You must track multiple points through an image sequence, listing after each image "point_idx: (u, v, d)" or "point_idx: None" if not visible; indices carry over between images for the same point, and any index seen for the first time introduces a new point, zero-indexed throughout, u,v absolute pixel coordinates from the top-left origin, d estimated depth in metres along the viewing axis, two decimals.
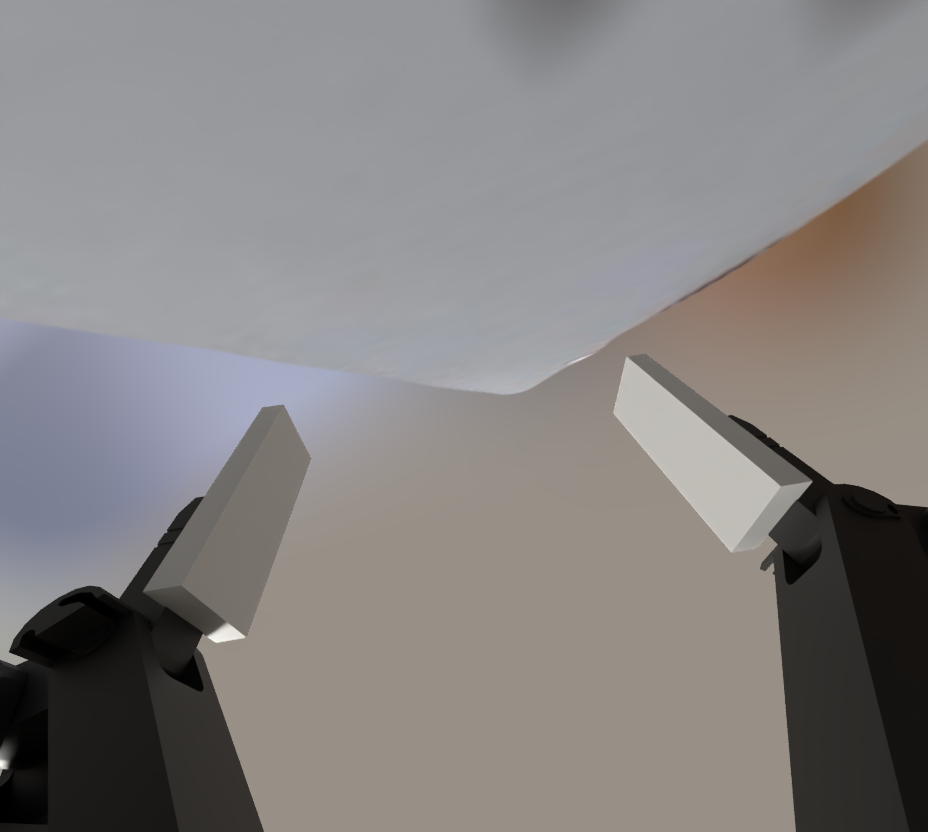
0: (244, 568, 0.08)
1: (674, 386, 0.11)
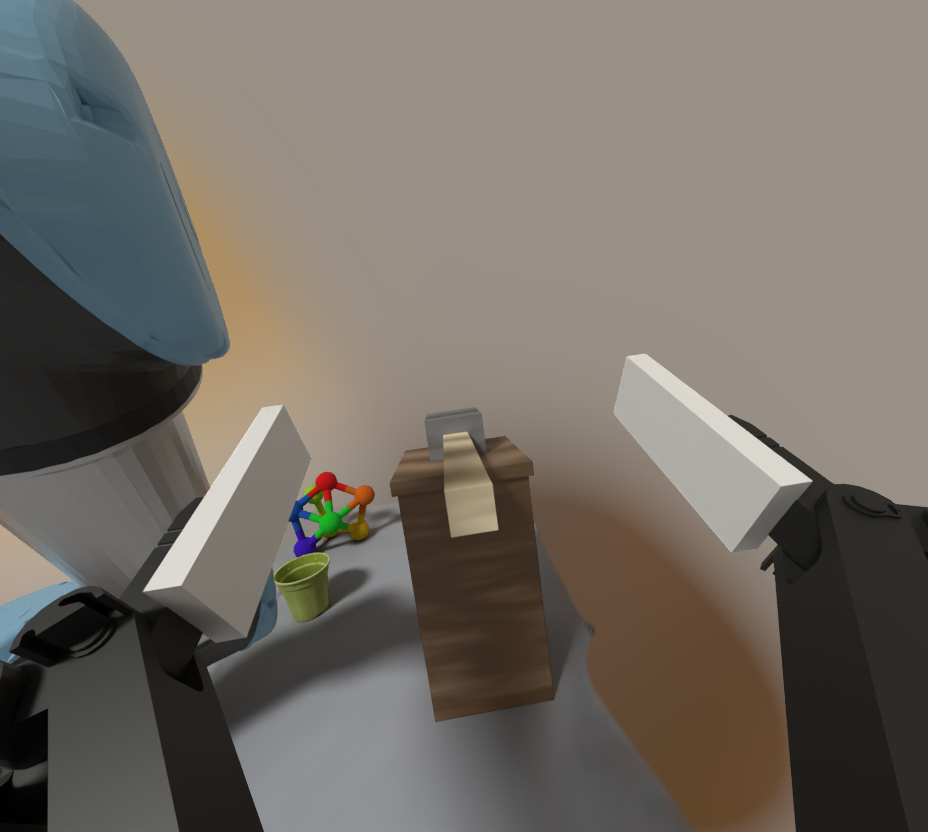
0: (244, 568, 0.08)
1: (674, 386, 0.11)
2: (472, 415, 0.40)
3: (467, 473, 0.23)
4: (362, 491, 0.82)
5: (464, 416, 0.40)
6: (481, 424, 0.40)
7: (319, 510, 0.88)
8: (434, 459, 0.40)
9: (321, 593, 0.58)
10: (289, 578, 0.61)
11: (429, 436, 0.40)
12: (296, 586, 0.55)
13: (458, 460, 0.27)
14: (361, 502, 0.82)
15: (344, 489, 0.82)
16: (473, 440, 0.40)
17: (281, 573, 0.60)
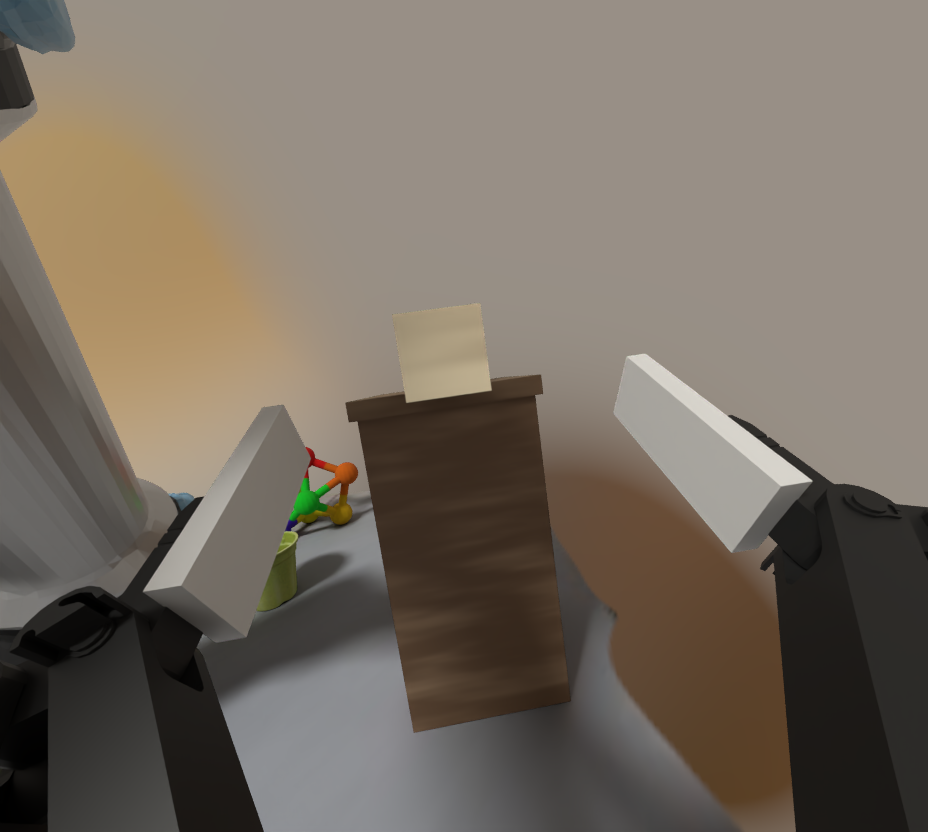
0: (244, 568, 0.08)
1: (674, 386, 0.11)
2: None
3: None
4: (343, 468, 0.73)
5: None
6: None
7: None
8: None
9: (286, 577, 0.49)
10: None
11: None
12: None
13: None
14: (342, 480, 0.73)
15: (323, 466, 0.73)
16: None
17: None
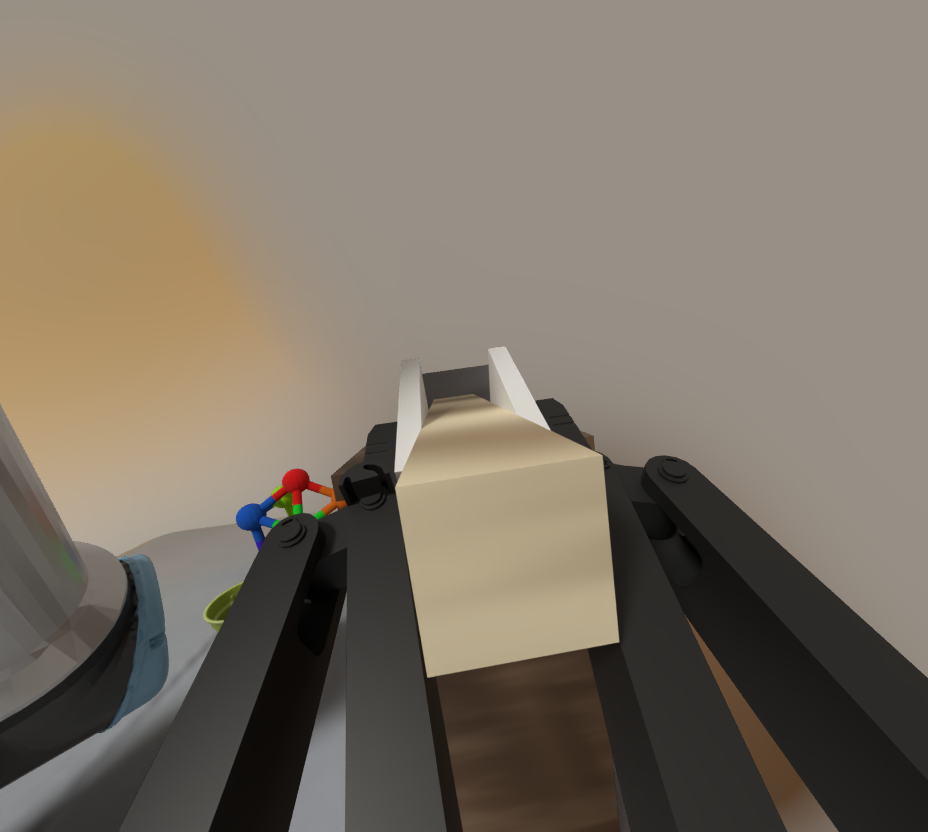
0: None
1: (508, 373, 0.12)
2: (481, 367, 0.24)
3: (484, 433, 0.08)
4: None
5: (468, 369, 0.24)
6: None
7: (290, 515, 0.73)
8: None
9: None
10: None
11: None
12: None
13: (458, 417, 0.11)
14: (339, 506, 0.67)
15: (318, 490, 0.67)
16: None
17: (220, 604, 0.44)
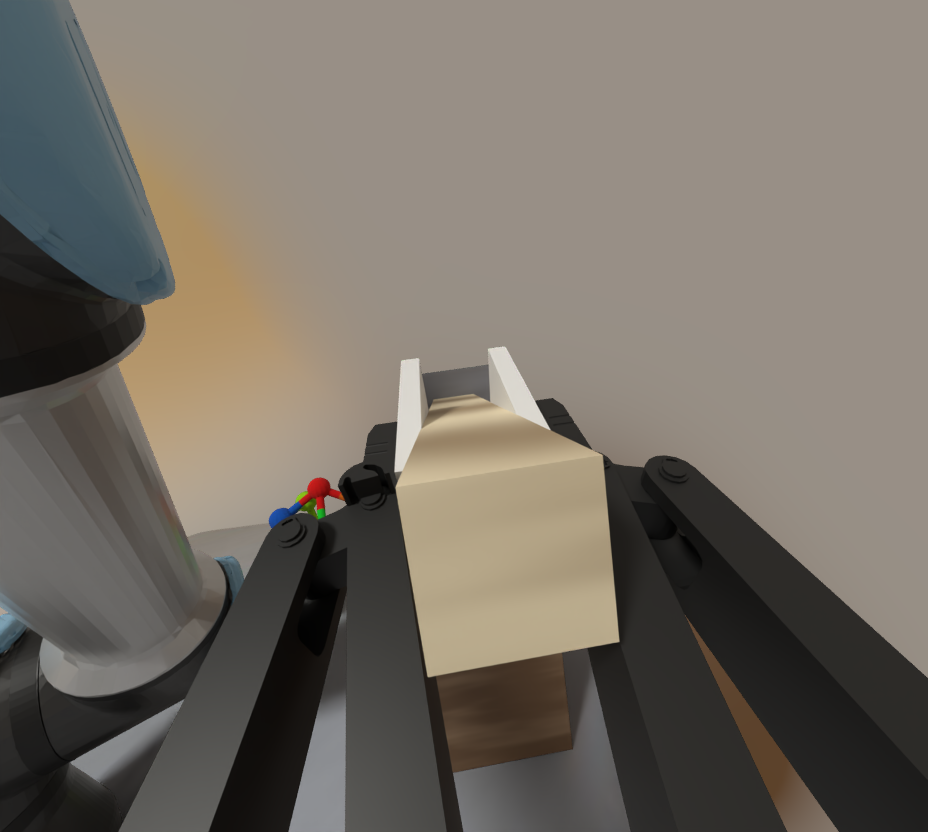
0: None
1: (508, 373, 0.12)
2: (481, 367, 0.24)
3: (484, 433, 0.08)
4: None
5: (468, 368, 0.24)
6: None
7: None
8: None
9: None
10: None
11: None
12: None
13: (458, 417, 0.11)
14: None
15: (338, 496, 0.77)
16: None
17: None
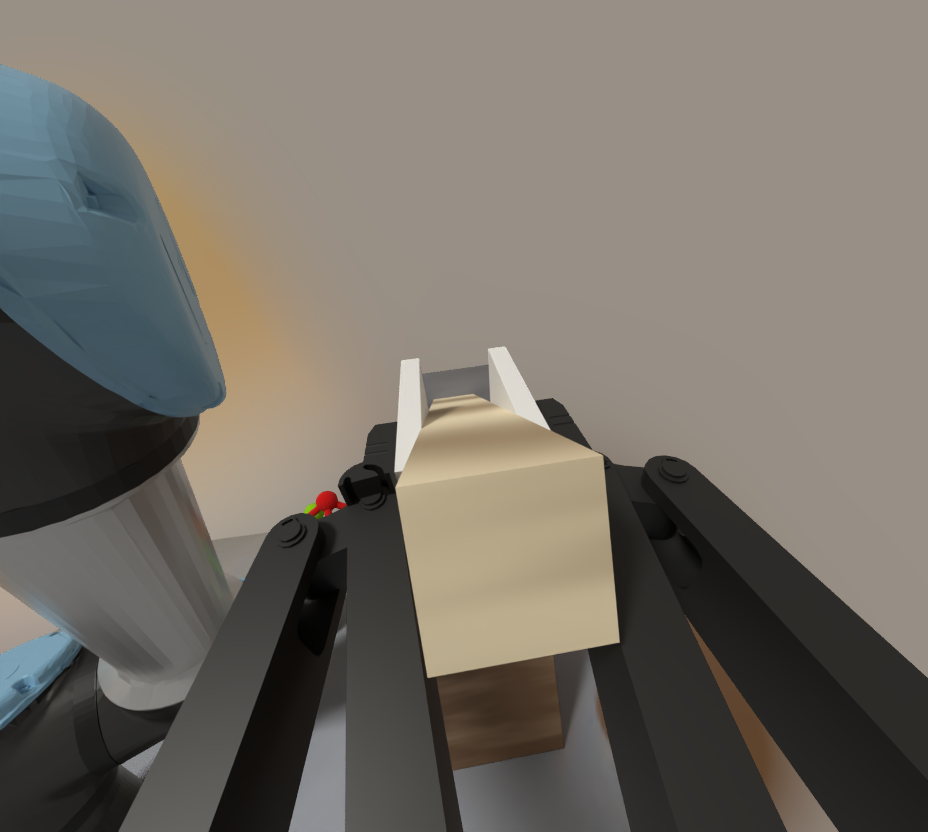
0: None
1: (508, 373, 0.12)
2: (481, 367, 0.24)
3: (484, 434, 0.08)
4: None
5: (468, 369, 0.24)
6: None
7: None
8: None
9: None
10: None
11: None
12: None
13: (458, 417, 0.11)
14: None
15: None
16: None
17: None
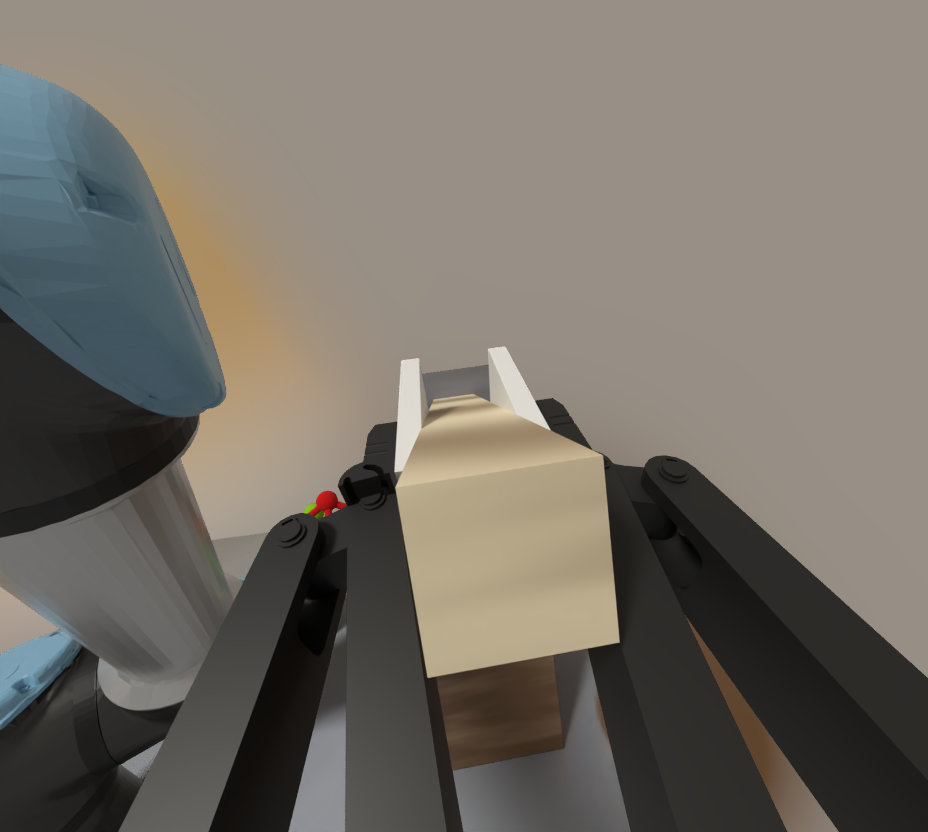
0: None
1: (508, 373, 0.12)
2: (481, 367, 0.24)
3: (484, 434, 0.08)
4: None
5: (468, 369, 0.24)
6: None
7: None
8: None
9: None
10: None
11: None
12: None
13: (458, 417, 0.11)
14: None
15: None
16: None
17: None
